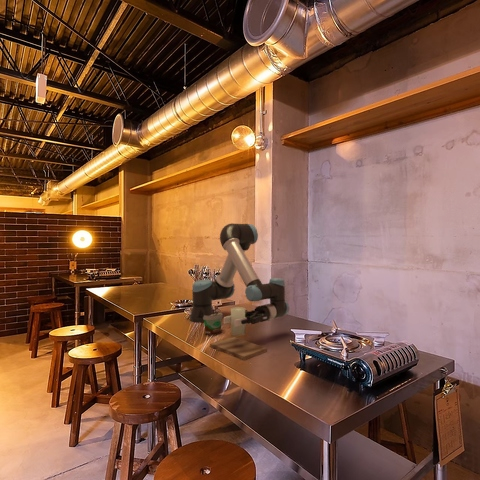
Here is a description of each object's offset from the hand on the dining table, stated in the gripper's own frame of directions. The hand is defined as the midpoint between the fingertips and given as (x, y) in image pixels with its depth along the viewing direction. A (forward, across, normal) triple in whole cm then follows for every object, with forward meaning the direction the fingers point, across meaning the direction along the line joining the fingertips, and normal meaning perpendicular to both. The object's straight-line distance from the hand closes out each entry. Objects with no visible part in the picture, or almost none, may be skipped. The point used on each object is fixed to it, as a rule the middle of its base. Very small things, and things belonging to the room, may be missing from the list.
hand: (229, 321), depth 137 cm
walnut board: (-5, 0, -13) cm, 14 cm away
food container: (-13, +25, -13) cm, 31 cm away
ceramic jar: (-5, 0, -6) cm, 8 cm away
